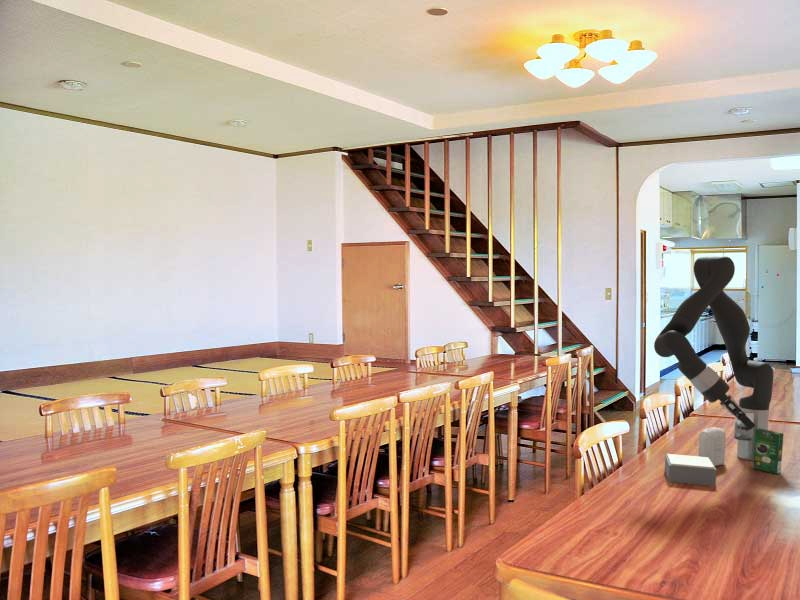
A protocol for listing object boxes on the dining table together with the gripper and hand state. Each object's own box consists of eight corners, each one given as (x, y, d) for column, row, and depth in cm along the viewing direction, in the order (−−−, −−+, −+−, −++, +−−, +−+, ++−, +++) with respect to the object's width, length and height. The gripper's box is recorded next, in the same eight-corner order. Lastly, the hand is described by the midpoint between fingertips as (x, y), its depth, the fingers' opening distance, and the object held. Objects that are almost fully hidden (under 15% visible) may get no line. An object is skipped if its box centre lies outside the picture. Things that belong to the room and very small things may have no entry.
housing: (732, 436, 215) (733, 410, 214) (750, 437, 213) (751, 411, 213) (735, 439, 210) (736, 413, 209) (754, 441, 208) (755, 414, 208)
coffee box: (782, 473, 221) (784, 432, 221) (777, 475, 220) (779, 433, 219) (757, 467, 228) (759, 427, 227) (752, 468, 226) (754, 428, 226)
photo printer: (714, 461, 235) (715, 424, 234) (726, 464, 231) (728, 427, 231) (696, 465, 229) (697, 428, 228) (708, 468, 225) (709, 430, 225)
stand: (664, 470, 222) (665, 453, 222) (708, 474, 219) (709, 456, 218) (668, 481, 210) (669, 463, 209) (715, 486, 206) (716, 467, 206)
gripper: (722, 378, 206) (766, 422, 203) (715, 372, 220) (755, 413, 217) (702, 395, 208) (745, 439, 205) (696, 387, 221) (736, 428, 219)
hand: (750, 425), depth 211 cm, fingers closed on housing, 5 cm apart
